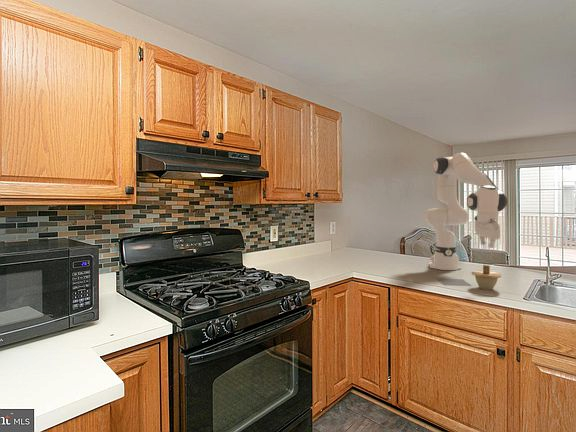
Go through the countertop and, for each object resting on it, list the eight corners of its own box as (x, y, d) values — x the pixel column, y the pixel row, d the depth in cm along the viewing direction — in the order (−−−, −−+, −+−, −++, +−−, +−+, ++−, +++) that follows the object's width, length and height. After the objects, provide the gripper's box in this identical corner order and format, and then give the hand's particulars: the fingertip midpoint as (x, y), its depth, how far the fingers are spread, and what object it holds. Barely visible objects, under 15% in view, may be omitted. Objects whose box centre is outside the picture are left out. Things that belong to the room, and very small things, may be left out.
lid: (467, 271, 178) (467, 262, 178) (494, 272, 176) (494, 263, 176) (477, 277, 166) (477, 267, 165) (506, 278, 164) (506, 268, 163)
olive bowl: (476, 285, 178) (477, 271, 178) (499, 288, 172) (499, 274, 172) (472, 289, 171) (473, 275, 170) (495, 292, 164) (496, 278, 164)
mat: (436, 279, 192) (436, 278, 192) (462, 279, 190) (462, 279, 190) (443, 285, 178) (443, 285, 178) (472, 286, 176) (472, 285, 176)
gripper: (504, 220, 159) (503, 249, 160) (485, 216, 179) (485, 243, 180) (490, 220, 159) (489, 249, 160) (473, 217, 180) (472, 243, 181)
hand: (486, 246), depth 170 cm, fingers open, 8 cm apart
